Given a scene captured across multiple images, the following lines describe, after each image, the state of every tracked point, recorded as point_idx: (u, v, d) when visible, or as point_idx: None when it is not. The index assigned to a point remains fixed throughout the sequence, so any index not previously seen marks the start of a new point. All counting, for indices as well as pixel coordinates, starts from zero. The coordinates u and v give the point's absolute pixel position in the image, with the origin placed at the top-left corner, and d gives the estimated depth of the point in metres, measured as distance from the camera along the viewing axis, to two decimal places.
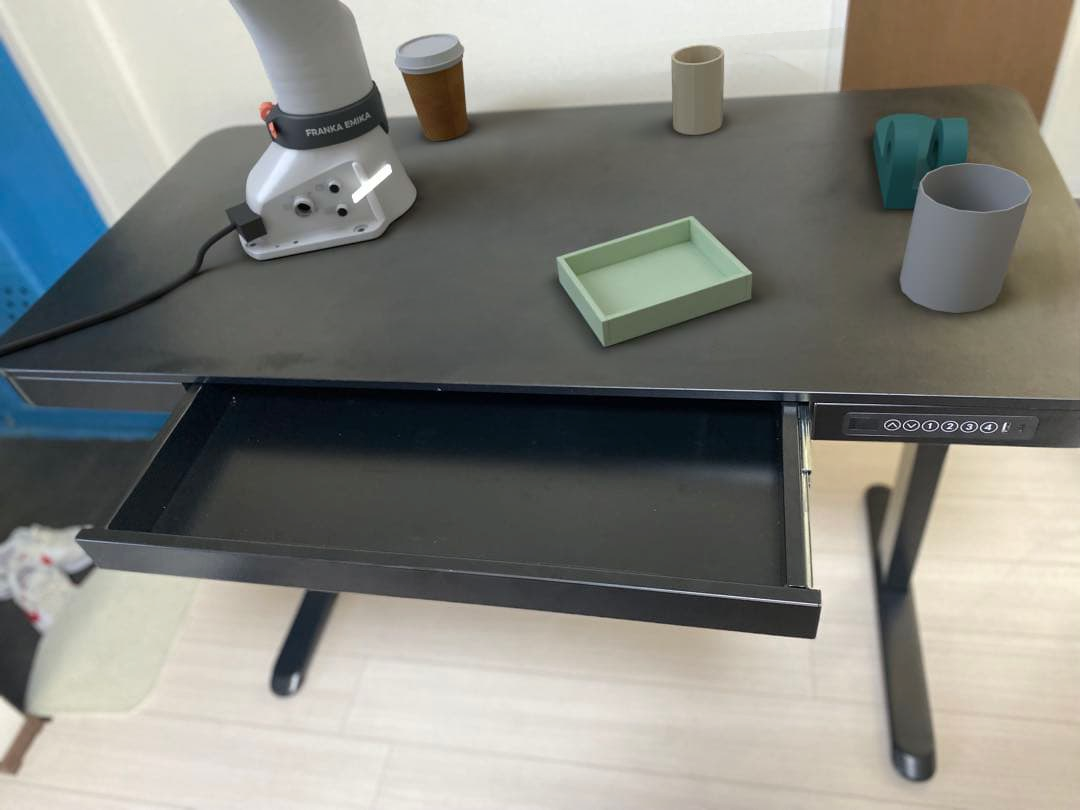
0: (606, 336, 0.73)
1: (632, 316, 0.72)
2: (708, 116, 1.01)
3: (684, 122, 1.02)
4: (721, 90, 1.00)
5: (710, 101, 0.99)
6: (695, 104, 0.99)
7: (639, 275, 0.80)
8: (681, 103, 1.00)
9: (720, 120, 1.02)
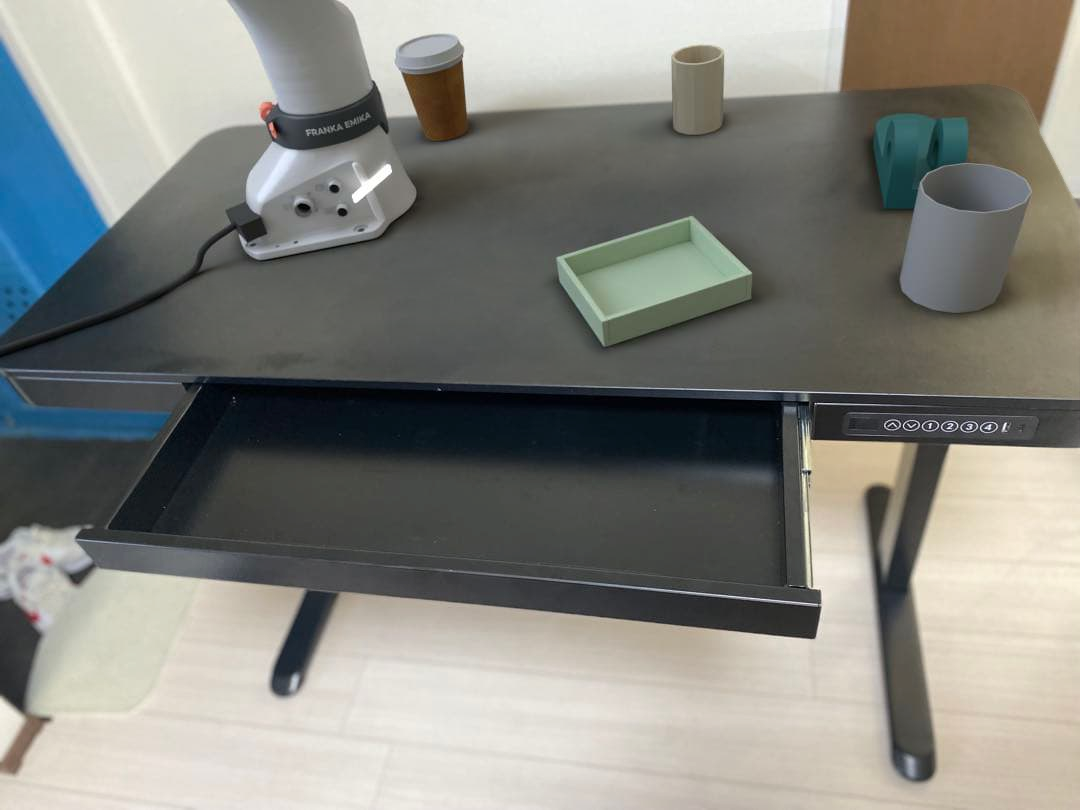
0: (606, 336, 0.73)
1: (632, 316, 0.72)
2: (708, 116, 1.01)
3: (684, 122, 1.02)
4: (721, 90, 1.00)
5: (710, 101, 0.99)
6: (695, 104, 0.99)
7: (639, 275, 0.80)
8: (681, 103, 1.00)
9: (720, 120, 1.02)
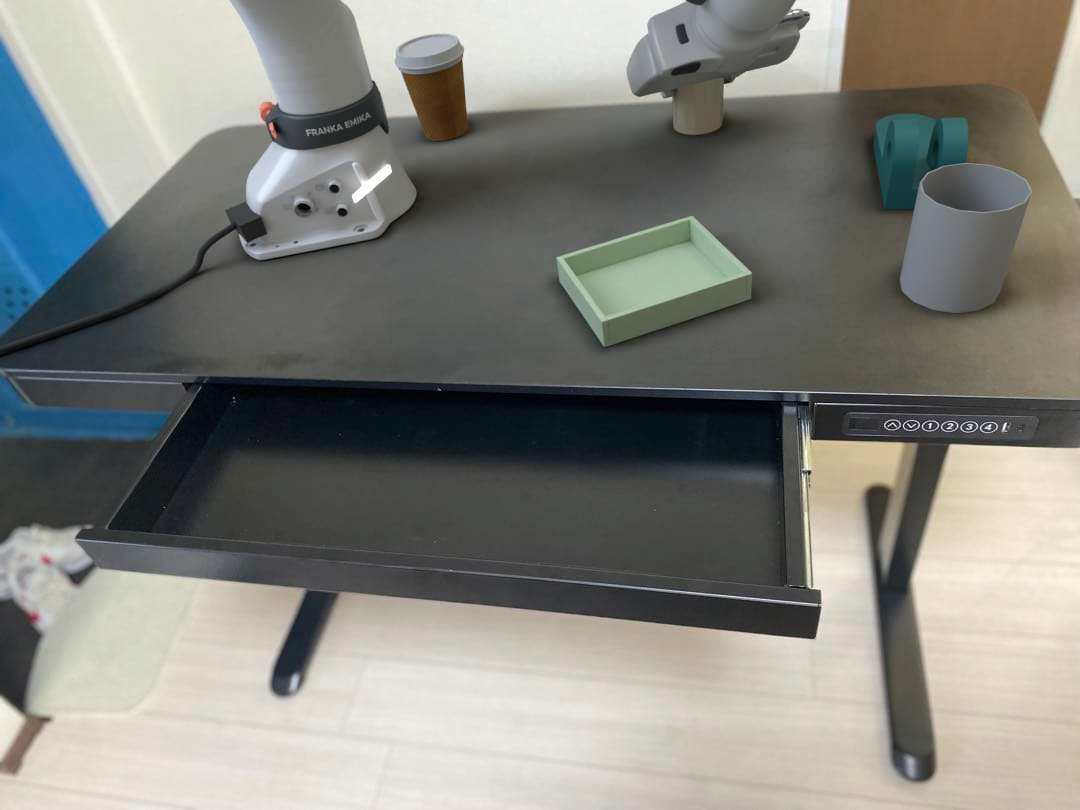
0: (606, 336, 0.73)
1: (632, 316, 0.72)
2: (708, 116, 1.01)
3: (684, 122, 1.02)
4: (721, 90, 1.00)
5: (710, 101, 0.99)
6: (695, 104, 0.99)
7: (639, 275, 0.80)
8: (681, 103, 1.00)
9: (720, 120, 1.02)
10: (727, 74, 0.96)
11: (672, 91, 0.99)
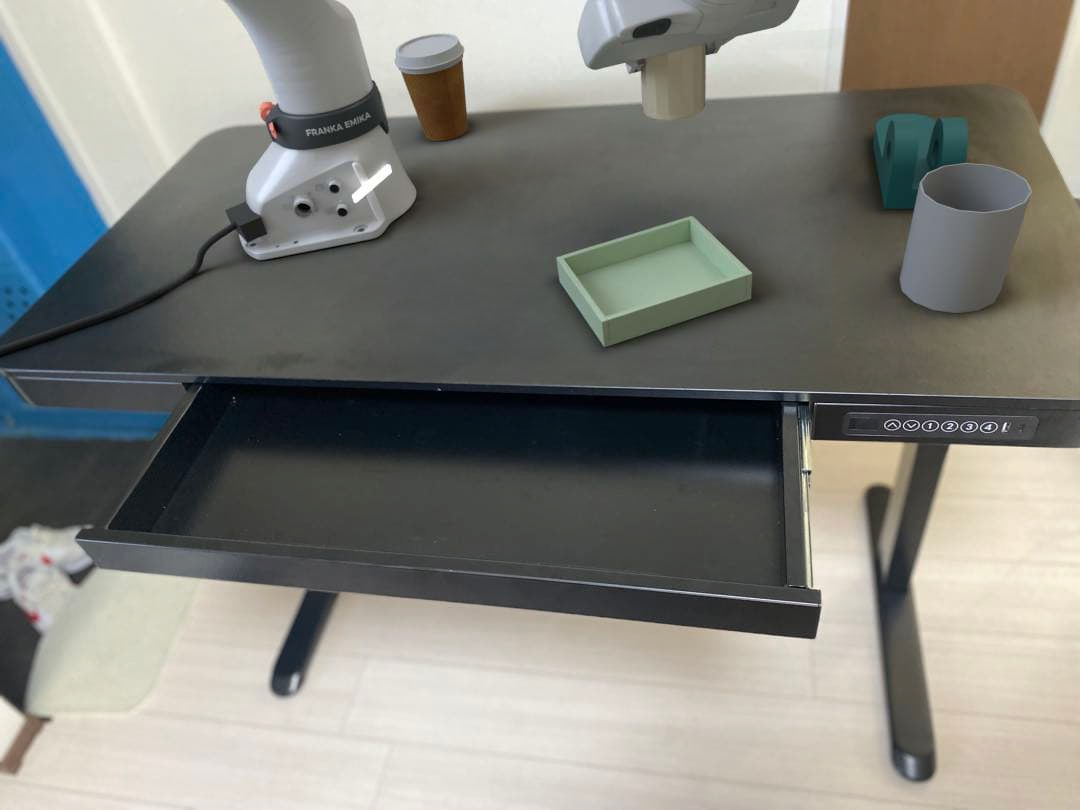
0: (606, 336, 0.73)
1: (632, 316, 0.72)
2: (686, 96, 0.78)
3: (656, 104, 0.79)
4: (702, 62, 0.78)
5: (688, 76, 0.77)
6: (669, 80, 0.77)
7: (639, 275, 0.80)
8: (651, 79, 0.78)
9: (702, 101, 0.80)
10: (709, 40, 0.74)
11: (639, 64, 0.77)
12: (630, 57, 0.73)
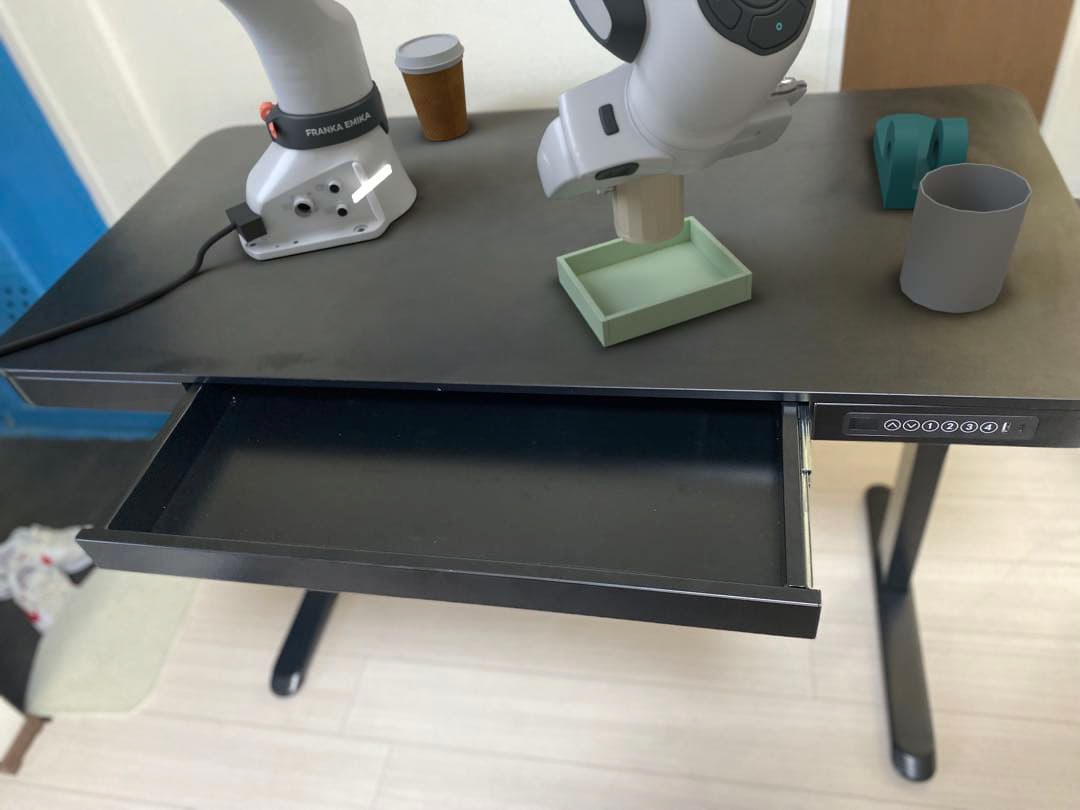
0: (606, 336, 0.73)
1: (632, 316, 0.72)
2: (662, 221, 0.70)
3: (628, 227, 0.71)
4: (680, 184, 0.69)
5: (664, 200, 0.69)
6: (642, 205, 0.69)
7: (639, 275, 0.80)
8: (623, 202, 0.70)
9: (680, 223, 0.72)
10: None
11: (609, 186, 0.69)
12: (596, 187, 0.65)
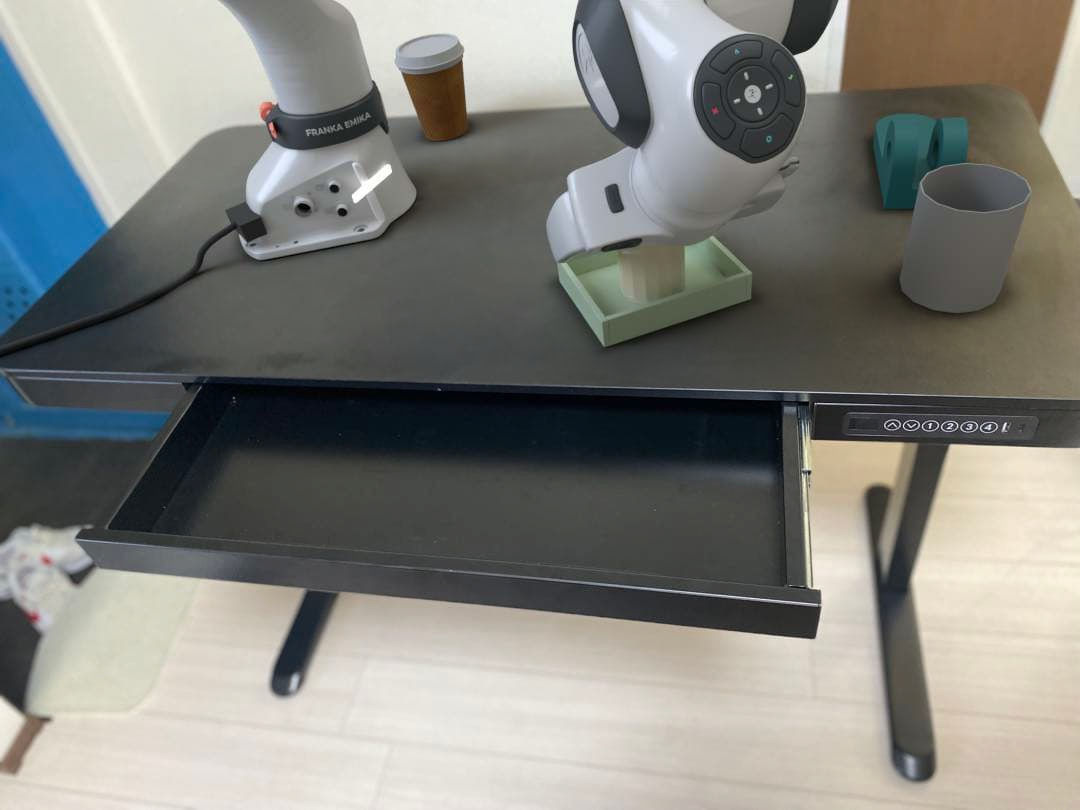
0: (606, 336, 0.73)
1: (632, 316, 0.72)
2: (664, 284, 0.75)
3: (633, 289, 0.76)
4: (681, 250, 0.74)
5: (666, 266, 0.73)
6: (646, 270, 0.74)
7: None
8: (628, 267, 0.74)
9: (681, 285, 0.76)
10: None
11: None
12: (602, 251, 0.69)
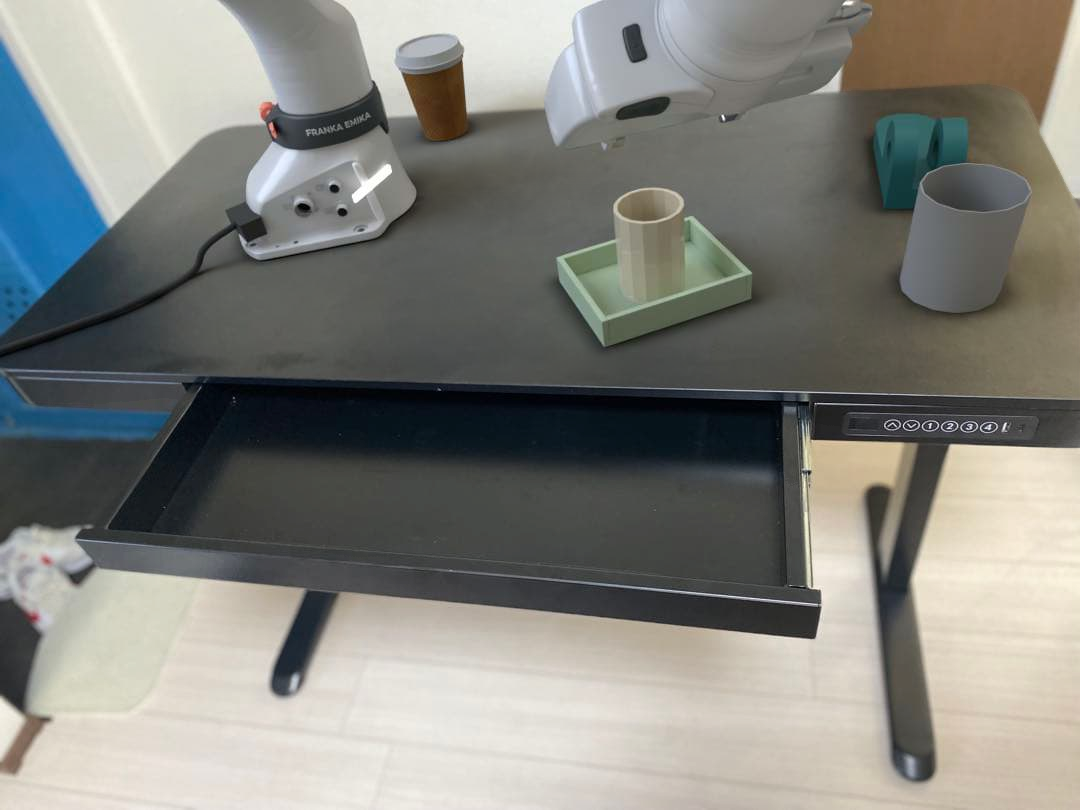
0: (606, 336, 0.73)
1: (632, 316, 0.72)
2: (664, 284, 0.75)
3: (633, 289, 0.76)
4: (681, 250, 0.74)
5: (666, 266, 0.73)
6: (646, 270, 0.74)
7: None
8: (628, 267, 0.74)
9: (681, 285, 0.76)
10: None
11: (617, 139, 0.59)
12: (615, 134, 0.54)
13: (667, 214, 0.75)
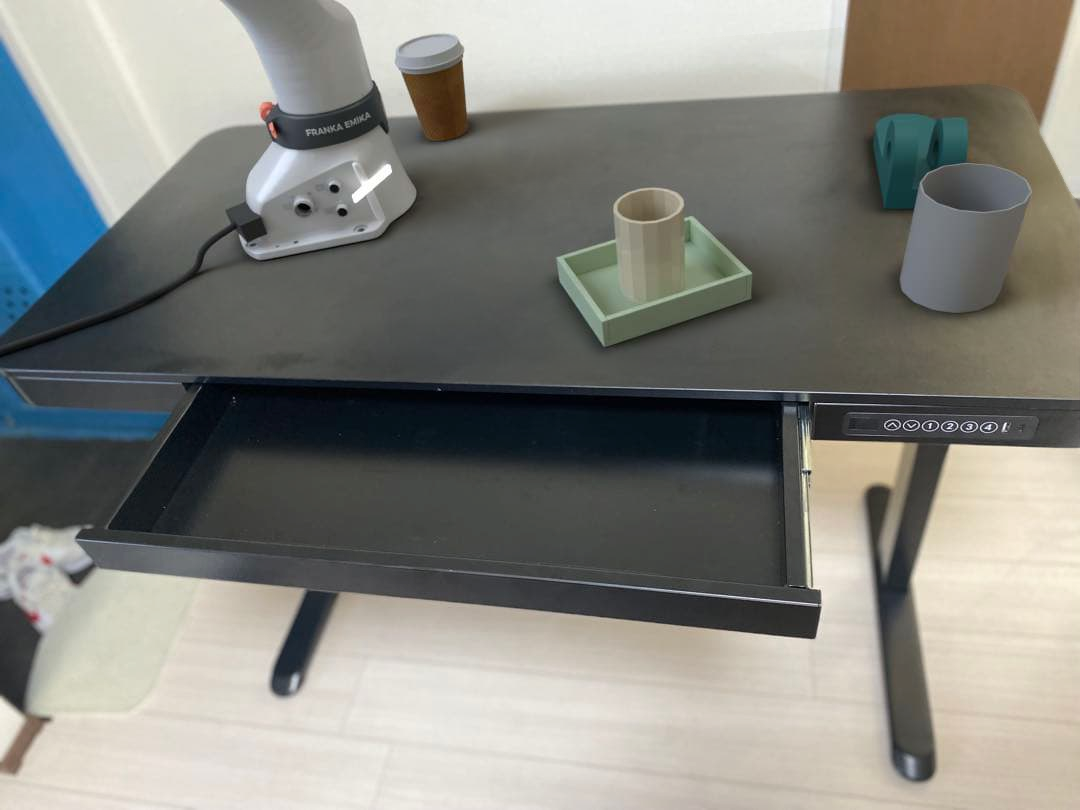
0: (606, 336, 0.73)
1: (632, 316, 0.72)
2: (664, 284, 0.75)
3: (633, 289, 0.76)
4: (681, 250, 0.74)
5: (666, 266, 0.73)
6: (646, 270, 0.74)
7: None
8: (628, 267, 0.74)
9: (681, 285, 0.76)
10: None
11: None
12: None
13: (667, 214, 0.75)
